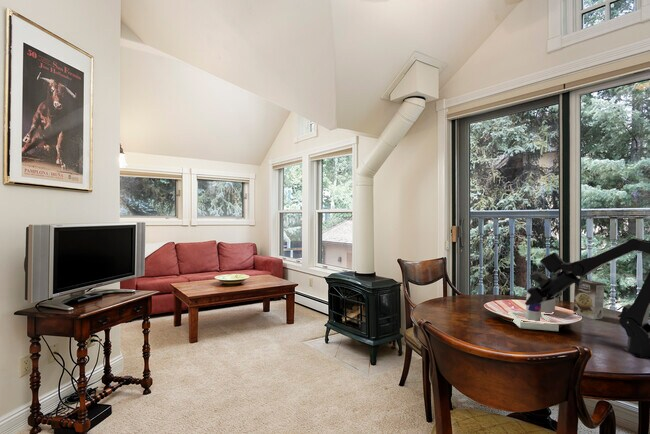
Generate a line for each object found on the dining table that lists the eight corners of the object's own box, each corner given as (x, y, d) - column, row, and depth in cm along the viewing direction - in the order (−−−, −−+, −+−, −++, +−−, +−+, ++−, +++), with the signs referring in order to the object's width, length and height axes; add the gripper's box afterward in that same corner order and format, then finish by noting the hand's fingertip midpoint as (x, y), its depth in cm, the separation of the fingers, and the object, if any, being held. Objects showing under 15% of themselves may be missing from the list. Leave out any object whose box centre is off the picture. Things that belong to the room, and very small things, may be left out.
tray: (558, 331, 132) (558, 325, 132) (520, 328, 135) (520, 322, 135) (542, 319, 146) (543, 314, 146) (508, 316, 149) (508, 311, 149)
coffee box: (572, 313, 156) (573, 279, 155) (581, 312, 158) (583, 278, 157) (594, 319, 147) (595, 283, 147) (603, 318, 149) (605, 282, 149)
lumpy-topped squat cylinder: (552, 308, 163) (552, 291, 162) (557, 316, 151) (558, 297, 151) (527, 305, 167) (527, 288, 167) (530, 313, 155) (531, 294, 155)
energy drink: (539, 325, 137) (541, 296, 136) (524, 322, 140) (525, 294, 139) (540, 322, 141) (542, 294, 140) (526, 319, 144) (527, 291, 144)
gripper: (554, 264, 142) (526, 284, 151) (533, 268, 131) (504, 289, 141) (575, 286, 135) (545, 306, 145) (555, 292, 125) (523, 313, 134)
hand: (529, 303), depth 141 cm, fingers open, 6 cm apart
